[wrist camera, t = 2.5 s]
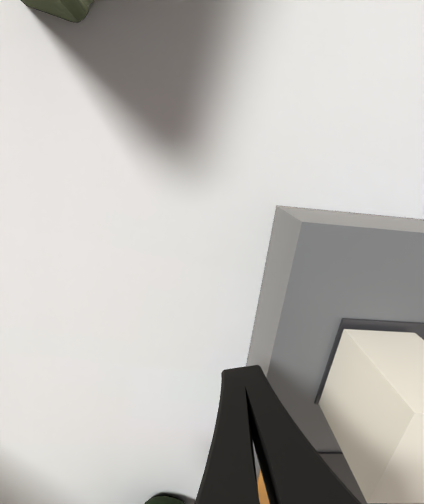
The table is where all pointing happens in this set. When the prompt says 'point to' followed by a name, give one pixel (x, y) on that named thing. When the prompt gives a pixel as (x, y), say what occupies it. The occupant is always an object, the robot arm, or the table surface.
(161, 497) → the toy figurine
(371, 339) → the tab
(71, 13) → the handheld radio
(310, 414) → the switch panel
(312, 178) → the table surface
